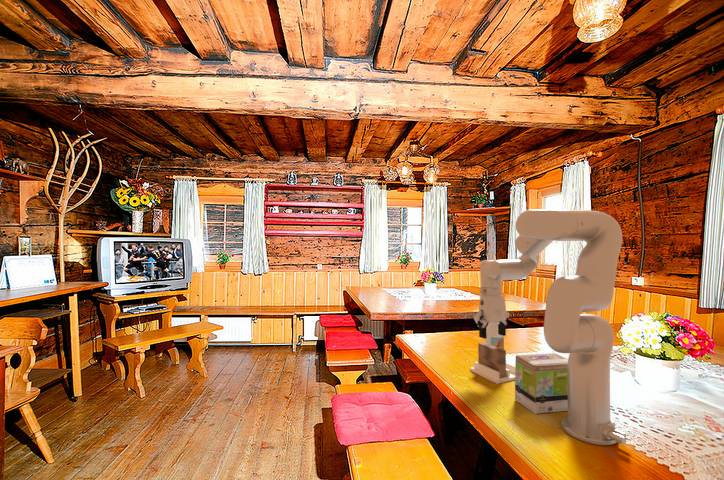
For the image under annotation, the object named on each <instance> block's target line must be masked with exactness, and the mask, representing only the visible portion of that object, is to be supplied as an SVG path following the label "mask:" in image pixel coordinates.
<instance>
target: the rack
mask: <svg viewBox="0 0 724 480" xmlns="http://www.w3.org/2000/svg"><path fill="white" fill-rule="evenodd" d="M515 366H516V365H515V364H514V365H513V364H512V363H509V362H507V361H506V377H504V378H500V372H498V371H496V370H494V369H491V368H489V367H487V366H485V365H483V364H480V363H478V361H474V364H473V366H472V367H469V371H471V372H473V373H474V374H476V375H479V376H481V377H482V378H484V379H487V380H488V381H491V382H493V383H495V384H498V385H499V384H502V383H506V382H507V383H508V382H512V381H515Z"/></svg>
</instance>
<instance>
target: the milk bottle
mask: <svg viewBox="0 0 724 480" xmlns="http://www.w3.org/2000/svg"><path fill="white" fill-rule="evenodd" d="M498 324H499V322H494V323H487V325H486V327H485V328H486V334H487V338H486V339H484V342H485V343H488V344H490V345H493V346H496V347H498V348H501V349H504V350H505V338H504V337H505V336H503V335H499V334H498Z"/></svg>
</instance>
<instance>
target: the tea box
mask: <svg viewBox="0 0 724 480" xmlns="http://www.w3.org/2000/svg"><path fill="white" fill-rule="evenodd" d="M567 364H568V358H566V357H564V356H562V355H559V354H558V353H555V352H553V353H536V354H519V355H515V365H514V366H515V380H514V400H515V401H516V402H517V403H519V405H520V404H521V405H522V406H523V407H525V409H527V410H528V411H530V412H531V413H533V414H535V415H538V414H545V413H556V412H568V389H567Z"/></svg>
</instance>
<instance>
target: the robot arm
mask: <svg viewBox="0 0 724 480" xmlns="http://www.w3.org/2000/svg"><path fill="white" fill-rule="evenodd" d="M515 221H516V222H515V230H516V232H517V233H518V234H519V235H518V236H517V237H516V238H515V241H514V244H515V245H514V246H515V248H516V249H517V251H518V252H519V253H520V254H521V255H520V256H519V257H518V258H517V259H513V258H511V259H510V258H509V259H483V260H481V261H480V266H479V267H480V270H479V271H480V289H479V293H480V296H479V300H478V301H479V303H478V312H476V314H474V315H473V320H474V322H475V324H476V326H477V327H478V337H479V338H480V339H484V340H485V339H486V338H487V334H486V328H487V325H488V323H494V322H499V324H498V334H499V335H503V336H504V337H505V336H506V335H507V334H506V333H507V329H506V327H507V325H508V321H509V318H510V312H509V311H507V308H506V301H505V296H504V295H503V294H502V293H503V289H502V285H503V284H502V281H510V280H513V281H516V280H519V281H520V280H522V279H525V278H526V277H528V276H529V275H530V274H531V273H532V272H533V271H535V270H536V268H538V265H539V262H540V261H539V260H540V253H542V252H543V251H544V250H545V249H546V248H547V247H549V245H550V244H551V243H553V241H555V242H586V244H585V246H584V247H583V248H582V249H581V252H579V253H580V254H579V256H578V258H577V262H576V263H577V265H576V271H575V274H574V275H566V276H565V275H564V276H561V277H558V278H556V279H554V281H552V282H551V284H550V285H549V288H548V290H547V293H546V294H547V295H546V301H545V302H546V303H545V311H544V321H543V336H544V340H545V342H546V344H547V345H548V347H549V348H550V349H551V350H553V351H554V352H557V353H560V354H568V358H567V359H568V364H567V389H568V411H567V416H564V417H563V418H562V419H561V421H560V422H561V423H560V425H561V427H562V429H563V431H565V432H566V433H567V435H568V434H569V435H570V436H572V437H573V438H575V439H577V440H580V441H582V442H585V443H588V444H592V445H598V446H610V445H611V446H613V445H614V444H616V443H619V444H620V445H622V446H625V445H626V443H627V433H625V432H623V431H621V430H619V429H617V427H616V421H614V420H612V419H611V357H612V352H613V349H614V348H613V347H614V343H615V333H614V329H613V327H612V325H611V324H610V322H609V321H608V320H607V319H605V318H604V317H602V316H600V315H597V314H593V313H592V312H600V311H605V310H607V309H609V307H610V306H611V304H612V302H613V297H614V293H615V292H614V291H615V283H616V278H617V277H616V276H617V270H618V269H617V266H618V261H619V256H620V252H621V248H622V244H623V232H622V228H621V226H620V224H619V222H618V221H617V220H616V219H615V218H614V217H613V216H612V215H610V214H608V213H606V212H602V211H600V210H599V211H598V210H591V209H589V210H588V209H526V210H524V211H522V212H521V213H520V214H519V215H518V216H517V218H516V220H515ZM590 312H591V313H590Z"/></svg>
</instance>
